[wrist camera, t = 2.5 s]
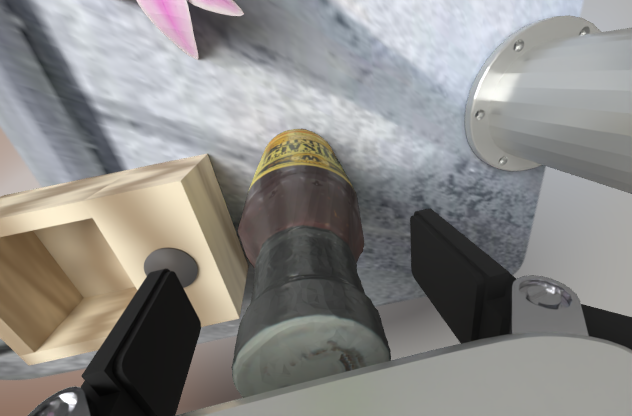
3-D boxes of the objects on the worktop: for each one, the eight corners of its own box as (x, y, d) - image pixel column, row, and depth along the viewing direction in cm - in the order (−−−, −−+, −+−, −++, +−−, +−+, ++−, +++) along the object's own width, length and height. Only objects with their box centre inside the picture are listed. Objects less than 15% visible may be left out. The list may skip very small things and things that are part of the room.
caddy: (207, 153, 23) (179, 182, 17) (248, 266, 29) (239, 320, 22) (4, 195, 23) (-106, 240, 16) (84, 302, 28) (26, 367, 22)
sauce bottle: (337, 132, 24) (506, 287, 6) (323, 196, 26) (413, 441, 9) (262, 118, 23) (194, 263, 5) (255, 187, 25) (193, 451, 7)
